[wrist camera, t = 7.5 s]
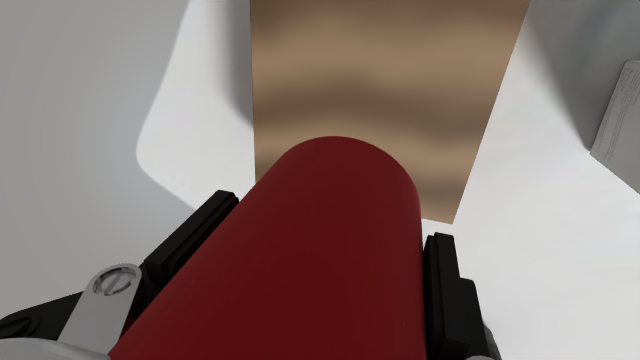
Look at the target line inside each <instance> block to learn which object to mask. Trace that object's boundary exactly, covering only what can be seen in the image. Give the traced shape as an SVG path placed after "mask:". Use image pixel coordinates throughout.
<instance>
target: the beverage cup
mask: <svg viewBox="0 0 640 360" xmlns="http://www.w3.org/2000/svg"><path fill="white" fill-rule="evenodd" d="M484 330H485V335H486V340H487V345H488V349H489V354H490V358H492V359H494V360H502V359H501V356H500V353H499V350H498V347H497V345H496V343H495V341H494V338H493V335H492V333H491V331H490V330H489V329H488V328H487V327H485V326H484Z"/></svg>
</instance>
